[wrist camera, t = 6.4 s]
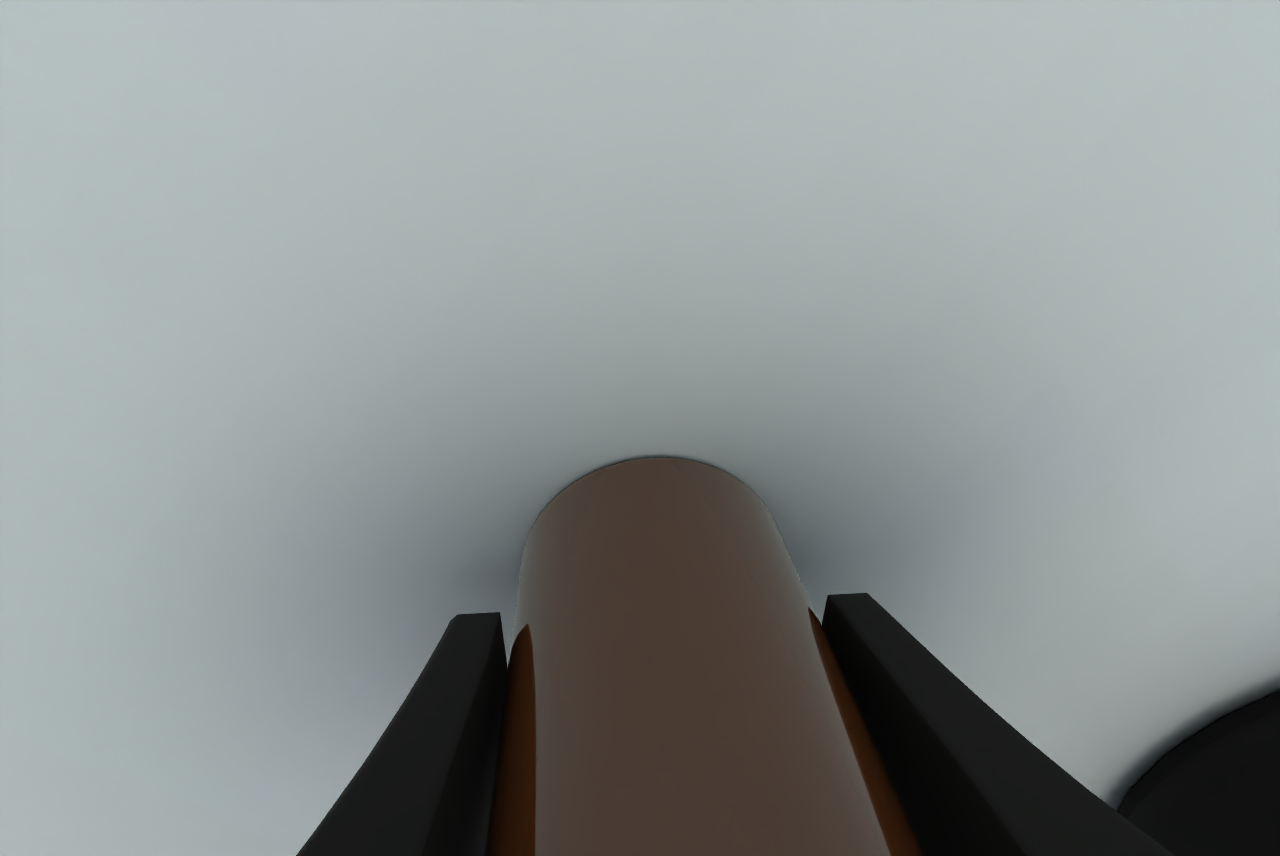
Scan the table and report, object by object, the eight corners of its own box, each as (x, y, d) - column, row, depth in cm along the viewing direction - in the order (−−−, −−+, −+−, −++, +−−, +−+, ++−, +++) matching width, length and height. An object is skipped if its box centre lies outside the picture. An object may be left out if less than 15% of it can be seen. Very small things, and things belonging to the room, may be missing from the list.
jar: (813, 596, 12) (1167, 1362, 5) (602, 686, 12) (629, 1471, 5) (716, 408, 10) (1088, 1275, 3) (469, 530, 10) (225, 1474, 3)
